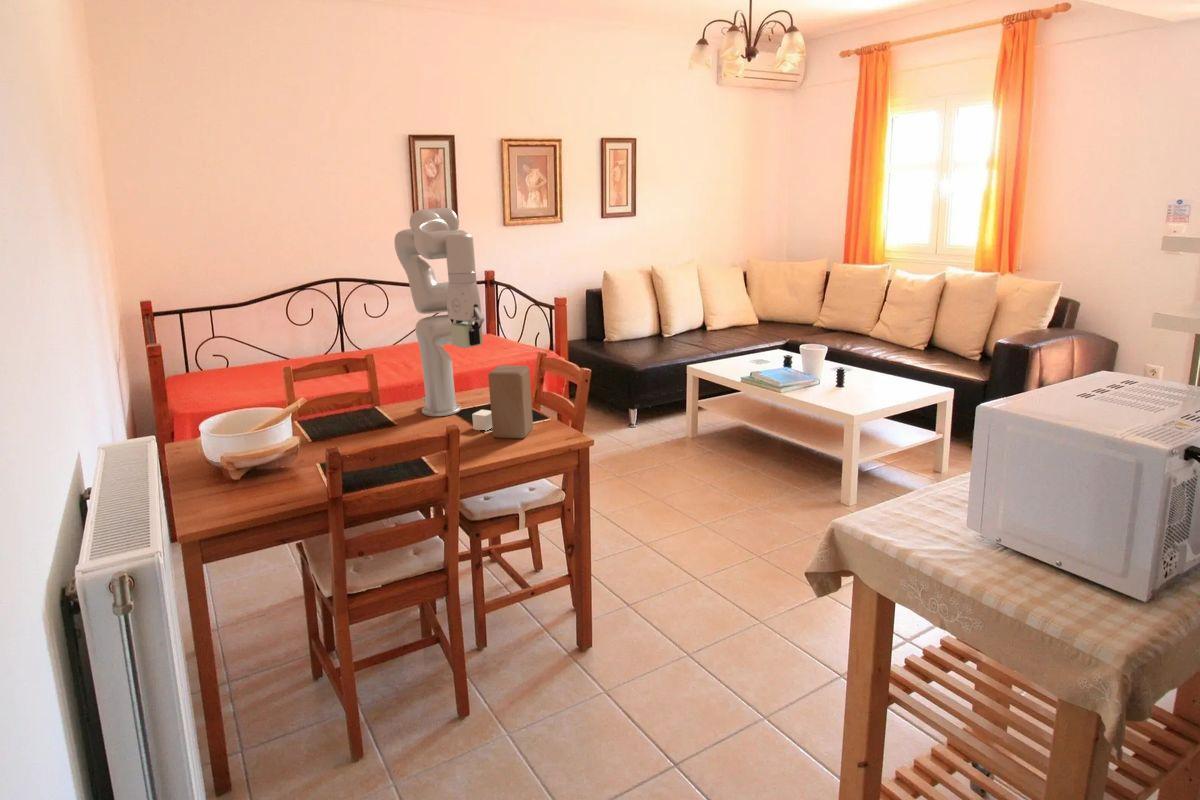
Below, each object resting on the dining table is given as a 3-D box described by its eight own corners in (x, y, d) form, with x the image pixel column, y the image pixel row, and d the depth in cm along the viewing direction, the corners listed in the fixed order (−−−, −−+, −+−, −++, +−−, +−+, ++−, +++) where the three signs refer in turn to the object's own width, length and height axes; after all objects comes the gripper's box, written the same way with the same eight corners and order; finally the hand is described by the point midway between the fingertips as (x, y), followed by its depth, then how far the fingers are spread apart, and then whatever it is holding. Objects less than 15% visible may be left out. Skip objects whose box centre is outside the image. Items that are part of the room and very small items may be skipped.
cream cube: (473, 429, 231) (472, 414, 229) (483, 424, 235) (481, 409, 234) (486, 431, 229) (485, 416, 227) (496, 426, 233) (495, 411, 231)
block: (524, 439, 220) (520, 373, 214) (492, 438, 222) (486, 373, 216) (534, 428, 230) (530, 364, 224) (502, 427, 232) (498, 364, 226)
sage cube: (452, 345, 212) (450, 324, 210) (469, 341, 216) (468, 320, 215) (465, 348, 208) (463, 326, 206) (482, 344, 212) (481, 323, 211)
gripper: (432, 278, 210) (438, 341, 215) (470, 283, 199) (475, 349, 204) (454, 274, 215) (460, 336, 220) (492, 279, 204) (497, 344, 209)
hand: (467, 342), depth 212 cm, fingers closed on sage cube, 6 cm apart
